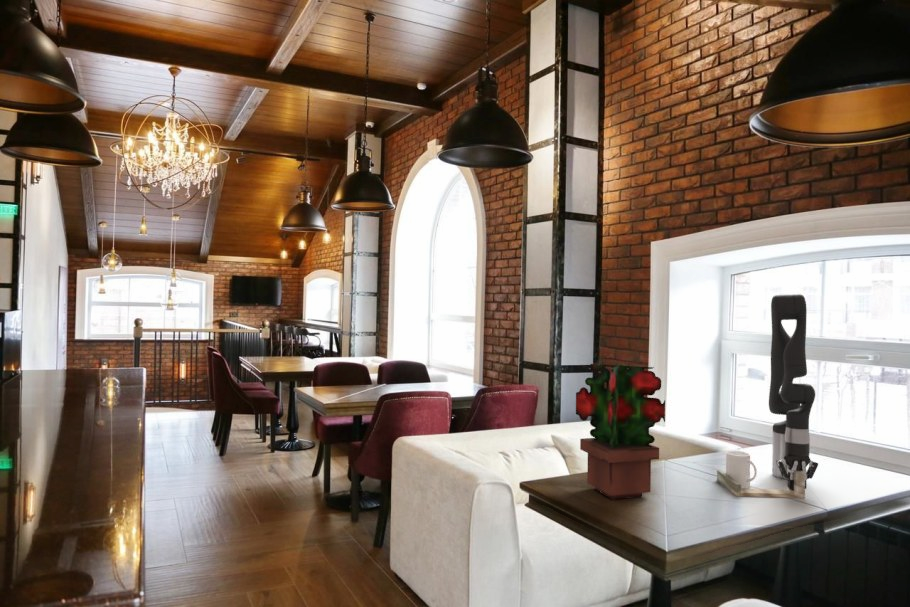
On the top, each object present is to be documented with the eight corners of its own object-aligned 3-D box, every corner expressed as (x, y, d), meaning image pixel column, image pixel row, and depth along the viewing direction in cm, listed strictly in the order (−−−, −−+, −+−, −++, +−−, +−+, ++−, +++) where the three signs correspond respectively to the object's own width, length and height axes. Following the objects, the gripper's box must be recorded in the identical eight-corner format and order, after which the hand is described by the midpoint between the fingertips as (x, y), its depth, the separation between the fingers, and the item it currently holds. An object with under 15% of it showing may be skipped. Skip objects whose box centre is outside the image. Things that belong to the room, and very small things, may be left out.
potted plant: (664, 500, 211) (665, 368, 211) (606, 505, 204) (607, 369, 204) (628, 482, 232) (629, 362, 232) (575, 486, 226) (576, 363, 226)
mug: (763, 490, 223) (763, 457, 223) (745, 492, 220) (745, 459, 220) (737, 481, 234) (737, 449, 234) (720, 483, 231) (720, 451, 231)
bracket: (779, 482, 233) (779, 458, 233) (804, 497, 214) (805, 471, 214) (716, 480, 234) (717, 456, 234) (736, 495, 215) (736, 470, 215)
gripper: (812, 438, 219) (812, 487, 219) (771, 437, 220) (771, 486, 220) (823, 443, 212) (823, 493, 212) (781, 442, 213) (781, 492, 213)
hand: (796, 489), depth 216 cm, fingers closed on bracket, 3 cm apart
